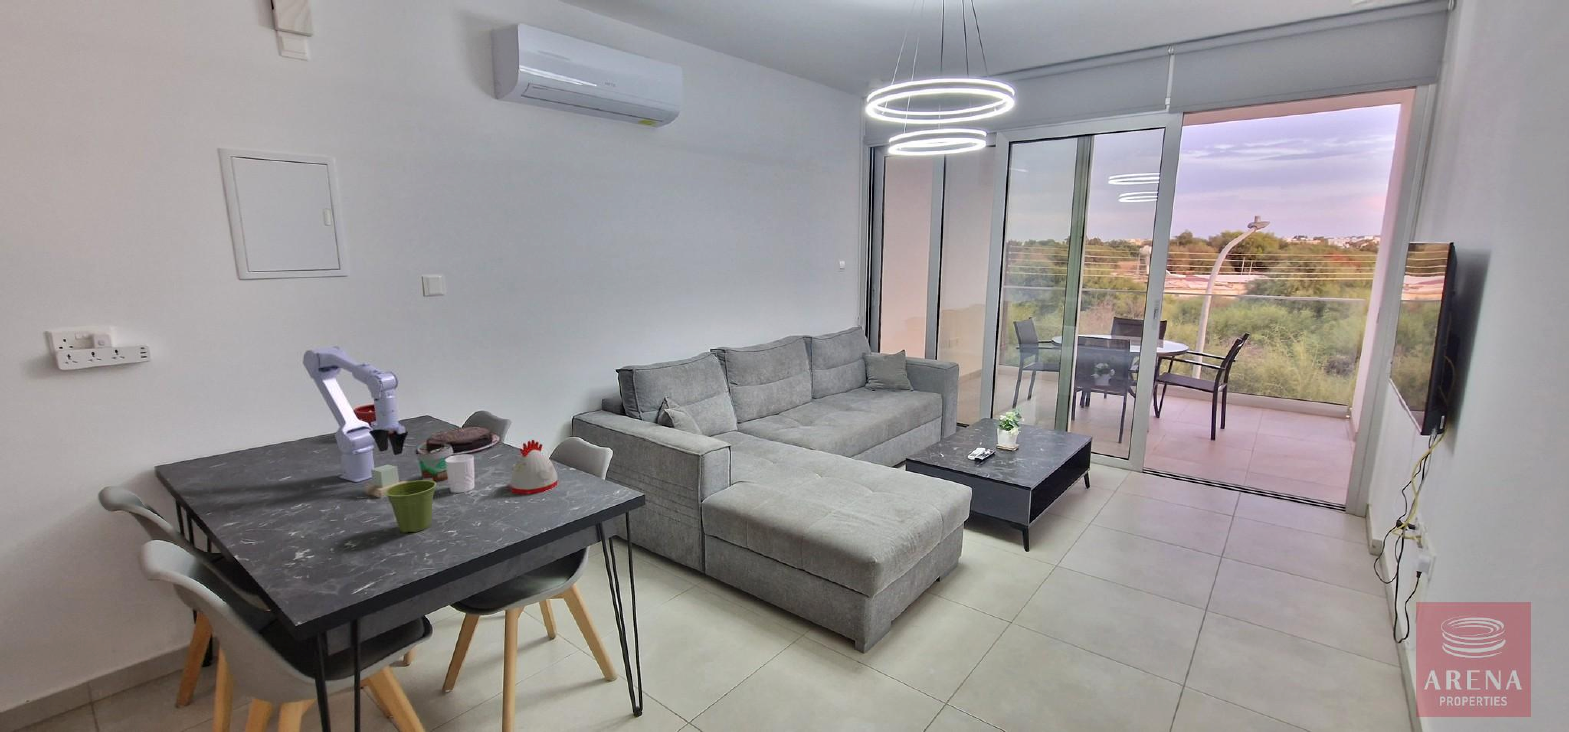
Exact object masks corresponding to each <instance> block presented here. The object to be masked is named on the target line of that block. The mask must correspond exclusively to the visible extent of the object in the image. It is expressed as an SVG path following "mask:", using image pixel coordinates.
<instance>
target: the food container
mask: <svg viewBox="0 0 1569 732" xmlns="http://www.w3.org/2000/svg"><path fill="white" fill-rule="evenodd" d="M452 453H453V449H452V447H451V446H450V445H449V444H444V447H441V448H439V449H435V450H431V451H430V452H428V453H426V454H421V453H418V454H417V461H418V462H419V466H420V471H421V472H420V473H421V477H422V480H429V481H434V482H436V483H439V482H444V481H446V480H448V476H447V470H446V463H445V459H447V458H449V457H451V454H452Z"/></svg>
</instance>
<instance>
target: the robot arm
mask: <svg viewBox="0 0 1569 732" xmlns="http://www.w3.org/2000/svg"><path fill="white" fill-rule="evenodd" d="M302 365H304V368H305V370H306V371H307V373H308V375H309V377H310V378H311V379H313V381H314V383H315V385H316V387H317V389H318V390H319V392H320V394H321V395H322V397H323V399H324V401H325V403H326V405H327V406H328V408H329V410H330V412H331V414H332V416H333V417H334V419H335V421H336V423H337V424H338V426H339V428H338V429H337V430H336V432H335V434H334V437H335V440H336V442H337V443H336V444H337V448H338V449H339V451H341V453H342V454H341V457H340V462H341V470H342V475H340V476H339V478H341V479H344V480H348V481H351V482H355V483H358V482H362V481H366V480H368V479H372V474H371V469H373V468H375V463H374V454H373V452H374V451H373V449H375V445H376V446H377V448H378V450H379V452H385V451H388V448H389V441H390V446H391V448H392V453H393V454H394V456H398V455H401V454H403V450H404V444H405V440H406V438H407V436H408V434H409V431H407V430H406V427H405V426H404V425H402V424H401V423H399V418H398V409H397V404H396V403H397V401H396V393H395V389H397V387H398V385H399V380H398V377H397V375H396V374H395V373H394V372H393V371H392V370H391V371H382V370H381V369H379V368H376V367H375V366H372V365H371V363H370V362H367V361H366V362H361V363H359V362H358V361H357V360H355V359H354V358H352V357H351V356H349V355H348V354H347V353H346V351H345V348H344V349H343V348H341V347H339V346H332V347H326V348H325V347H324V348H319V349H318V348H317V349H309V350H306V351H305V352H304V354H303V360H302ZM342 369H343V370H344V371H347V372H349V373H352V377H353V379H355V380H357V381H359V382H361V383H362V384H364V385H366V386H367V389H368V391H369V393H370V395H371V399H373V404H374V406H375V414H376V421H375V422H371V427H370V426H369V424H368V423H367V422H364V421H361V420H362V419H361V420H358V419H357V417H356V415H355V413H354V409H353V407H352V406H351V404H350V403H349V400H348V399H347V397H346V395H345V394H344V392H343V390H342V388H341V387H340V385H339V382H338V380H337V379H336V376H337V375H339V374H340V372H341V371H342ZM372 428H373V429H372ZM389 431H392V433H391V434H389Z"/></svg>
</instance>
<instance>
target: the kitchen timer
mask: <svg viewBox="0 0 1569 732" xmlns="http://www.w3.org/2000/svg"><path fill="white" fill-rule="evenodd" d="M542 448H543V443H540V442H539V441H535V439H531V441H530V440H527V444H526V443H524V442H523V443H522V448H520V447H519V451H520V453H521V455H520V457H518V459H516V462H515V463H514V464H513V465H512V466H511V470H512V472H511V476H510V479H509V480H510V481H509V487H510V489H509V490H510V491H511V492H512V493H514V494H518V495H534V494H533V493H536V494H539V493H538V492H541V493H545V492H547V491H546V490H548V491H550V490H549V489H551V490H553V489H555V488H556V487H557V486H558V484H557V482H558V483H559V480H558V474H557V471H556V469H555V466H554V465H553V464H554V463H552V461H551V459H550V458H549V457H548V455H546V454H545V453H543V452H542ZM556 485H557V486H556ZM555 486H556V487H555ZM554 487H555V488H554ZM552 488H553V489H552ZM544 491H545V492H544Z"/></svg>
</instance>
